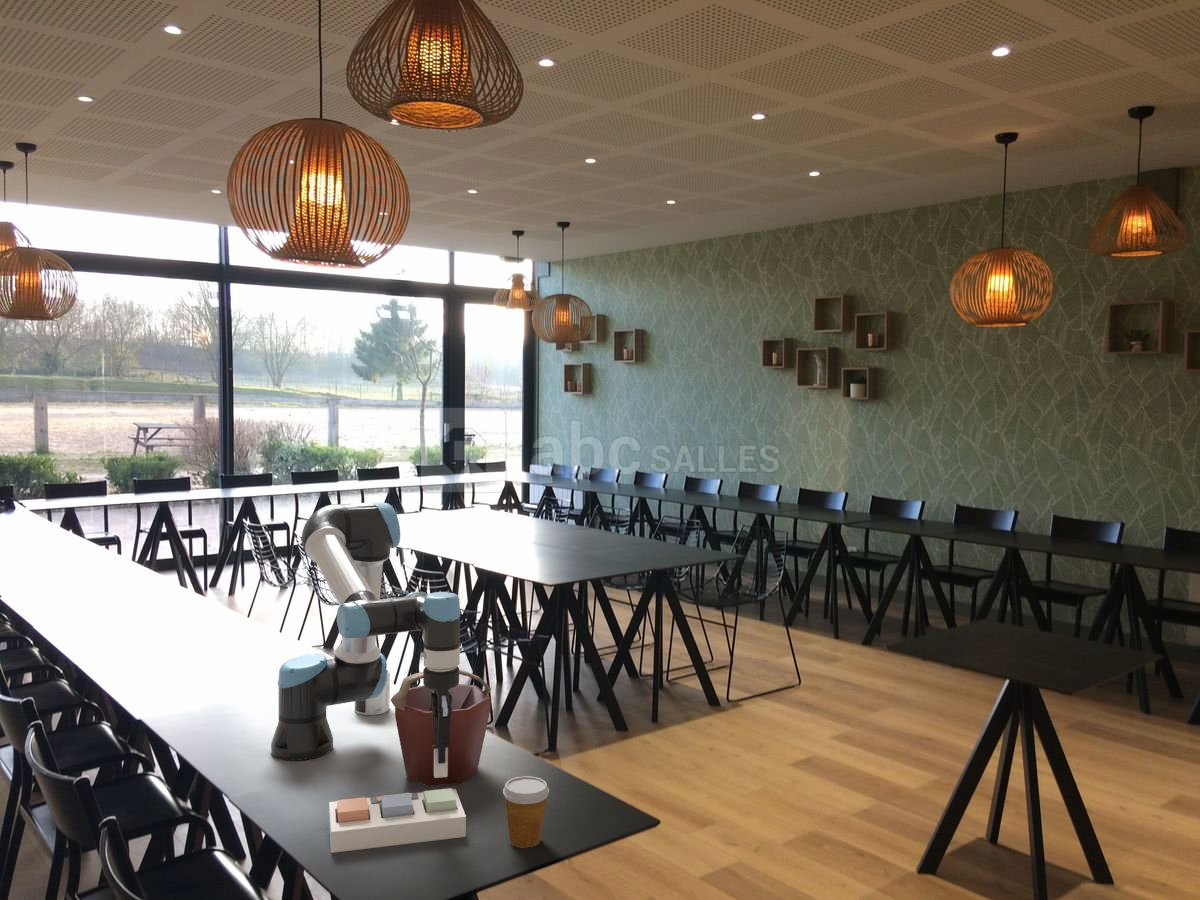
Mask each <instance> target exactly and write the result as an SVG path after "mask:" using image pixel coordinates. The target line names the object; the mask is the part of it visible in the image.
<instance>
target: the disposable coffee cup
mask: <svg viewBox="0 0 1200 900" xmlns="http://www.w3.org/2000/svg"><path fill="white" fill-rule="evenodd" d="M502 793H503V795H504V796H503V797H504V799H505V808H506V817H507V818H506V819H507V826H508V835H509V843H510V845H512V847H515V846H516V847H515V848H518V847H523V848H522V849H525V848H524V847H527V848H526V849H529V848H528V847H531V848H533V847H532V846H535V845H537V844H538V843H539V842H540V843H541V839H542V830H543V824H544V817H545V812H546V811H545V810H546V804H547V798H548V795H549V794H550V789H549V787H548V784H547V782H546V780H544V779H542V778H540V777H536V776H529V775H525V776H524V775H522V776H516V777H513V778H510V779H508V780H507V781H506V782H505V784H504V788H503V790H502ZM540 843H539V844H540ZM539 844H538V845H539ZM538 845H537V846H538ZM535 847H536V846H535Z"/></svg>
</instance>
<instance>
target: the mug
mask: <svg viewBox="0 0 1200 900" xmlns="http://www.w3.org/2000/svg"><path fill="white" fill-rule="evenodd" d="M386 670H387V680H386V684H385V687H384V690H383V691H382V693H381V694H380V695H378V696H377V697H375V698H370V699H367V700H365V701H354V712H355V713H356V714H359V715H363V716H376V715H377V716H378V715H381V714H384V713H387V712H388V711H389V710H390V706H391V705H390V703H391V702H390V701H391V699H390V698H391V697H390V696H391V695H390V694H391V692H390V691H391V687H390V685H391V671H390V669H389V668H386Z"/></svg>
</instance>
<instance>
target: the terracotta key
mask: <svg viewBox="0 0 1200 900" xmlns="http://www.w3.org/2000/svg"><path fill="white" fill-rule="evenodd" d="M367 798H368V797H367V796H366V797H365V796H364V797H355V798H347V799H345V798H344V799H337V817H338V823H343V822H352V821H361V820H368V803H367Z"/></svg>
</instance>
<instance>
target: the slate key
mask: <svg viewBox="0 0 1200 900" xmlns="http://www.w3.org/2000/svg"><path fill="white" fill-rule="evenodd" d="M410 793H411V792H403V793H394V794H393V793H392V794H384V795H380V796H381V810H382V815H383V818H388V817H397V816H406V815H413V803H412V800H411V796H410Z"/></svg>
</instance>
